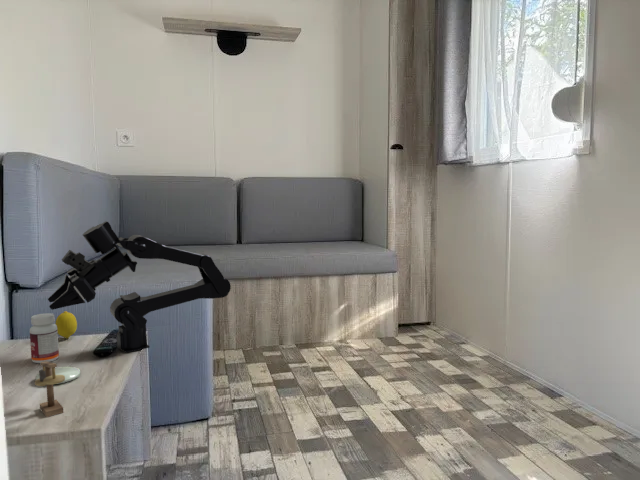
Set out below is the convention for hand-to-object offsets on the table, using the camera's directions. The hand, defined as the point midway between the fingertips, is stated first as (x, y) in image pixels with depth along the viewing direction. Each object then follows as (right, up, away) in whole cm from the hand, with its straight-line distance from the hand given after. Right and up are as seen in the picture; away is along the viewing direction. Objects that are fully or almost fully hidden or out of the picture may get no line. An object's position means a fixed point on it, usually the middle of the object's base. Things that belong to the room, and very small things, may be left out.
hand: (49, 304), depth 127 cm
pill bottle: (-2, -14, +3) cm, 15 cm away
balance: (+14, -17, -26) cm, 35 cm away
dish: (+7, -16, -10) cm, 20 cm away
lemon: (-5, -12, +20) cm, 24 cm away
